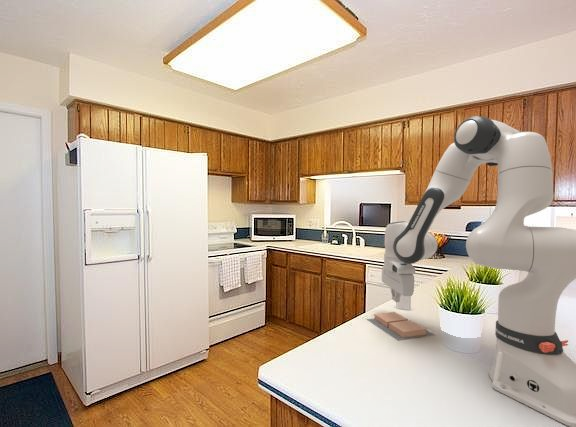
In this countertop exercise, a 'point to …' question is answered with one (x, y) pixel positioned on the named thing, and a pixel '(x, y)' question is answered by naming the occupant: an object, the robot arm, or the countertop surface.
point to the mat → (392, 333)
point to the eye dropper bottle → (404, 303)
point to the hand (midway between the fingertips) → (395, 300)
